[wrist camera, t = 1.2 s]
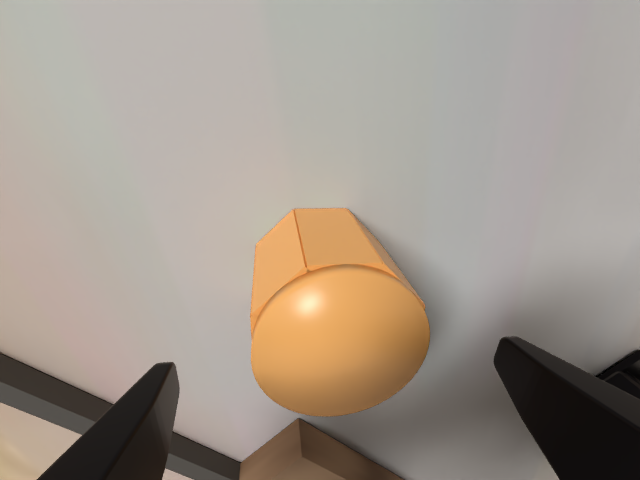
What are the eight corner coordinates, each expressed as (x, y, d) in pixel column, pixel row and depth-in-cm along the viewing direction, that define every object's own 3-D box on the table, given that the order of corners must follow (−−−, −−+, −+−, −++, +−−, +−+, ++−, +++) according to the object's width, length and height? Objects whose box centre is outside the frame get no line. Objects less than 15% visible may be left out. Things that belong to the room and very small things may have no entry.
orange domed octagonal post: (399, 262, 14) (461, 345, 9) (315, 332, 15) (335, 437, 10) (321, 182, 12) (354, 236, 7) (230, 268, 13) (210, 364, 8)
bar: (240, 463, 18) (238, 482, 17) (228, 472, 18) (226, 492, 17) (-103, 306, 12) (-134, 324, 11) (-116, 323, 12) (-148, 342, 11)
